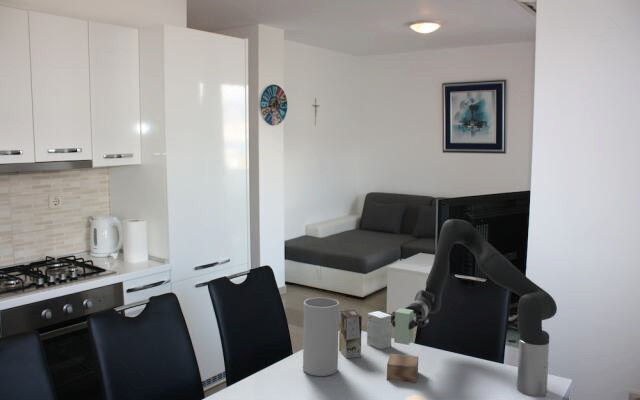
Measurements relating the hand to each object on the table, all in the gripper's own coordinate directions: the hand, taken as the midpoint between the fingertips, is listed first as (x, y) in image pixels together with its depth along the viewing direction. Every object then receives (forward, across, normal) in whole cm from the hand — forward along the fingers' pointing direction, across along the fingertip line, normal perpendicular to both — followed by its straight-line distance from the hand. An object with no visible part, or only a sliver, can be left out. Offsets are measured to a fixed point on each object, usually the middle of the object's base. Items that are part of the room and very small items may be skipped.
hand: (401, 325), depth 194 cm
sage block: (-3, 0, +6) cm, 7 cm away
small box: (-27, -18, +20) cm, 38 cm away
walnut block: (-2, 0, +19) cm, 19 cm away
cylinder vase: (+7, -28, +19) cm, 35 cm away
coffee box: (-13, -25, +20) cm, 34 cm away
